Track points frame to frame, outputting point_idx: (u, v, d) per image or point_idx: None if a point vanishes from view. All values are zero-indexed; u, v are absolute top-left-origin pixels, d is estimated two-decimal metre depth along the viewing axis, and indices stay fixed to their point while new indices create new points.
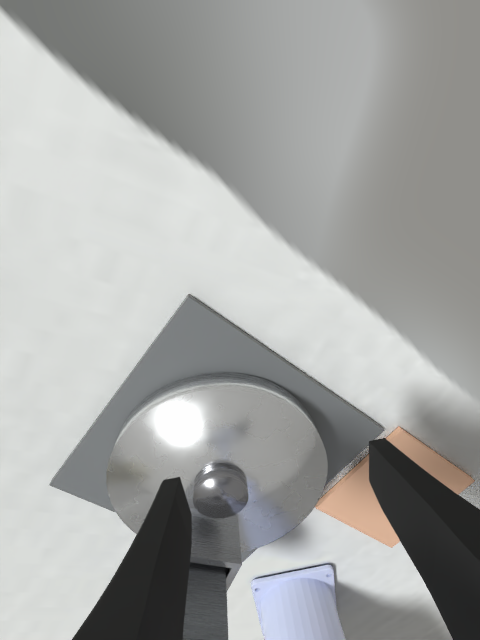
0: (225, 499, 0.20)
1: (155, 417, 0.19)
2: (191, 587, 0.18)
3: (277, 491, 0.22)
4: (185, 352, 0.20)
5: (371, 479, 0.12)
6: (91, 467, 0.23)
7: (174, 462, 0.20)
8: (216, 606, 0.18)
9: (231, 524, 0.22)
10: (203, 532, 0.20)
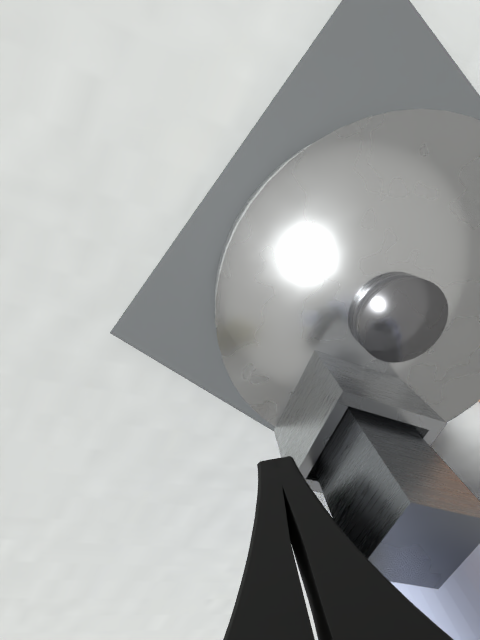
0: (410, 324, 0.12)
1: (315, 163, 0.11)
2: (388, 442, 0.10)
3: (467, 335, 0.14)
4: (349, 81, 0.12)
5: None
6: (175, 304, 0.15)
7: (328, 265, 0.12)
8: (440, 471, 0.10)
9: (398, 383, 0.14)
10: (370, 381, 0.13)
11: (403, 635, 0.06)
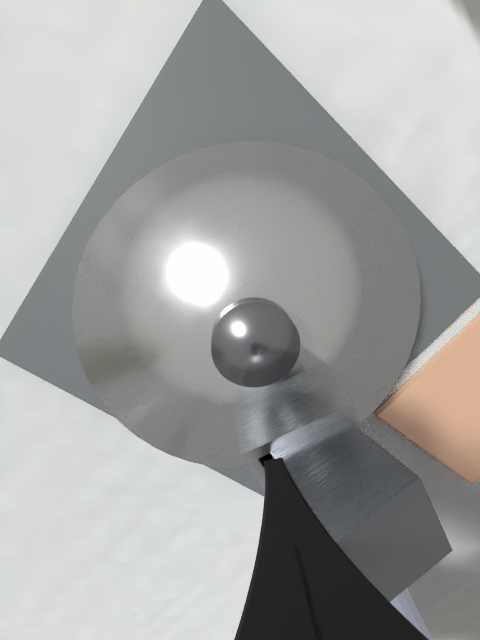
0: (262, 345, 0.12)
1: (87, 320, 0.13)
2: (311, 469, 0.10)
3: (339, 286, 0.13)
4: (202, 110, 0.12)
5: None
6: (55, 325, 0.15)
7: (173, 356, 0.14)
8: (362, 456, 0.10)
9: (317, 374, 0.14)
10: (280, 406, 0.13)
11: (383, 639, 0.05)
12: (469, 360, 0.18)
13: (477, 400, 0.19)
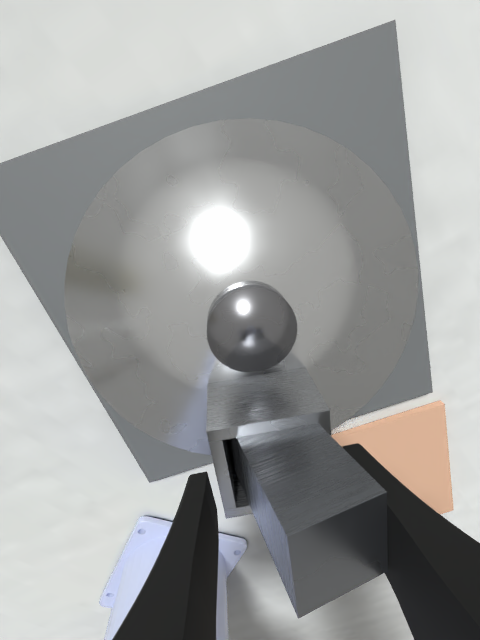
0: (260, 330, 0.12)
1: (89, 248, 0.12)
2: (277, 462, 0.10)
3: (344, 300, 0.13)
4: (326, 106, 0.13)
5: None
6: (58, 194, 0.13)
7: (164, 315, 0.13)
8: (332, 461, 0.10)
9: (297, 377, 0.14)
10: (255, 396, 0.13)
11: None
12: (383, 443, 0.20)
13: None
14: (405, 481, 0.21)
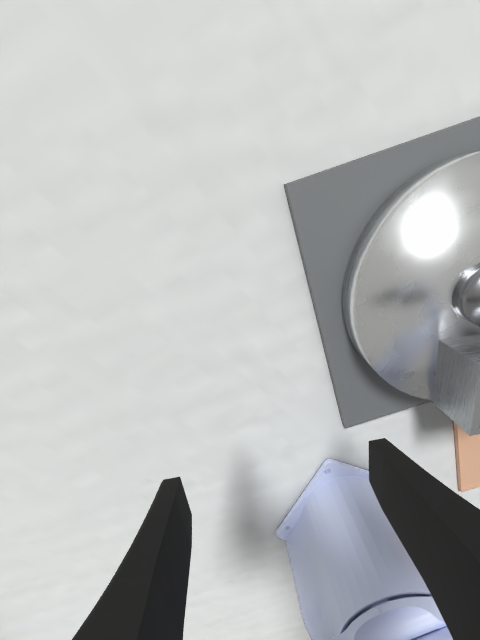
0: None
1: (391, 236, 0.16)
2: None
3: None
4: None
5: (371, 479, 0.12)
6: (345, 197, 0.18)
7: (425, 286, 0.17)
8: None
9: None
10: None
11: None
12: None
13: None
14: None
